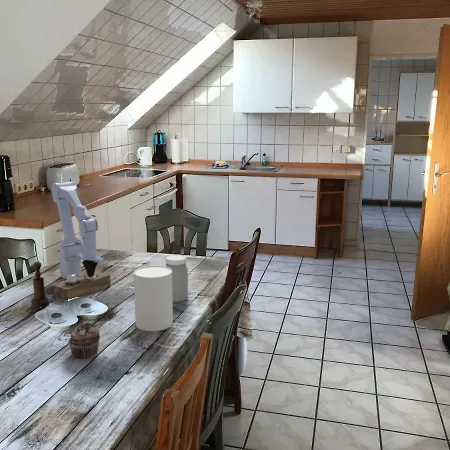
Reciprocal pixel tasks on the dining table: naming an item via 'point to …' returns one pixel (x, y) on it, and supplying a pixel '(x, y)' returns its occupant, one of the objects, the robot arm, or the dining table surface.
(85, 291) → the walnut frame
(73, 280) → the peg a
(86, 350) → the cupcake
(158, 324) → the canister
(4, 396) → the dining table surface
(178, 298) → the jar
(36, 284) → the dark brown tall piece
